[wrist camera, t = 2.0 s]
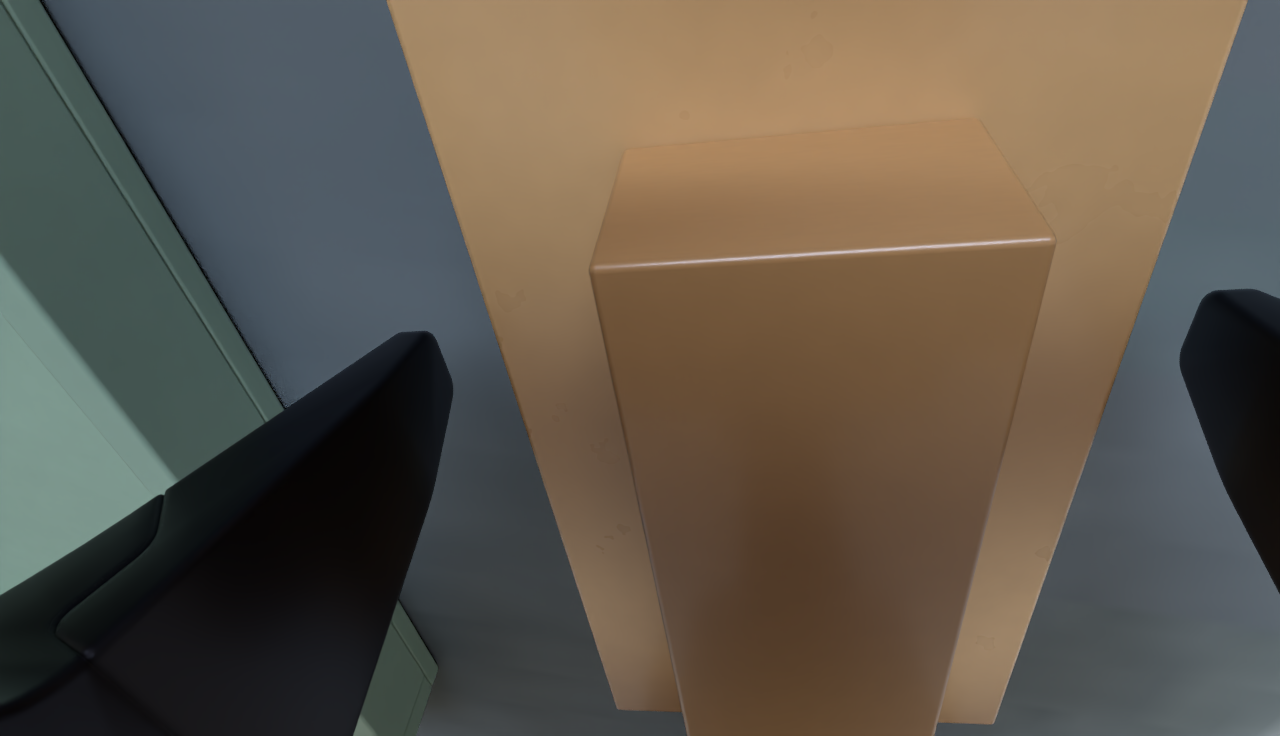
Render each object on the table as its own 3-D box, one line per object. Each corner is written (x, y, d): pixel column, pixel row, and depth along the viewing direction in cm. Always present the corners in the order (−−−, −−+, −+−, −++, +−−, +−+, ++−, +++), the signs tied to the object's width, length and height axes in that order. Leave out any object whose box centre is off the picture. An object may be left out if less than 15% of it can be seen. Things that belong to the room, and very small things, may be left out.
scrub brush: (937, 505, 13) (1031, 863, 9) (642, 508, 14) (600, 834, 10) (1067, -227, 7) (1627, -195, 2) (508, -138, 7) (217, 1, 3)
